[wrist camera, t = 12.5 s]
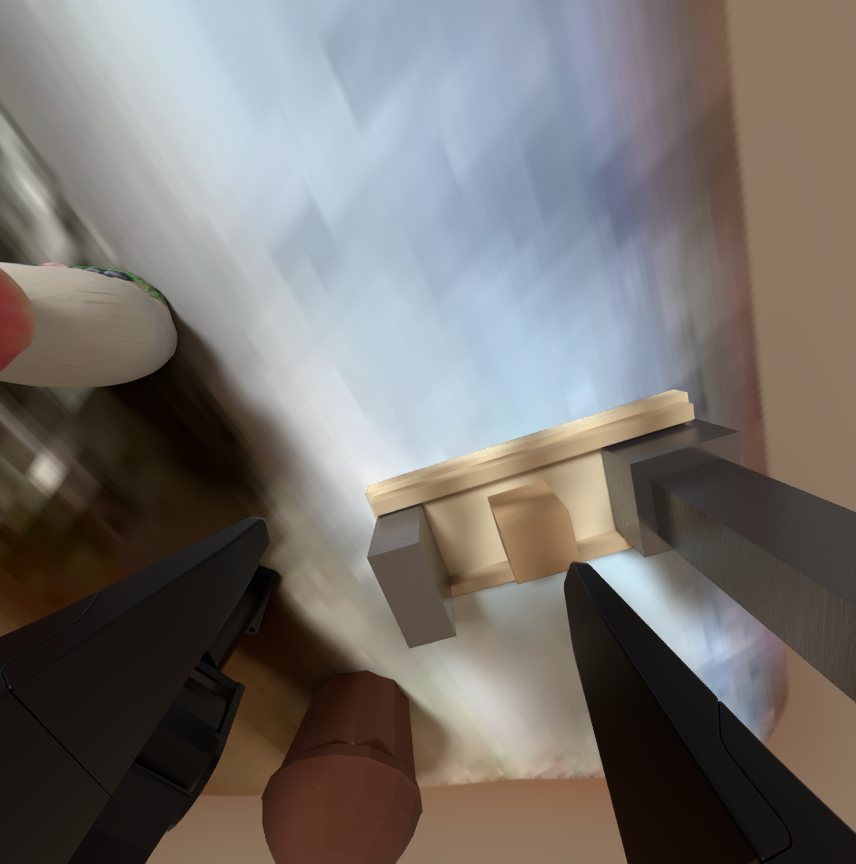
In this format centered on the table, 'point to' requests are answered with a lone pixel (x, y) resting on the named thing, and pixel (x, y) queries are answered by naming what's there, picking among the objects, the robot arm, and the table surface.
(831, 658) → the block
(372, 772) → the muffin
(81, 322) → the decorative ornament
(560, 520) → the walnut block
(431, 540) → the block
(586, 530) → the wooden tray
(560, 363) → the table surface
